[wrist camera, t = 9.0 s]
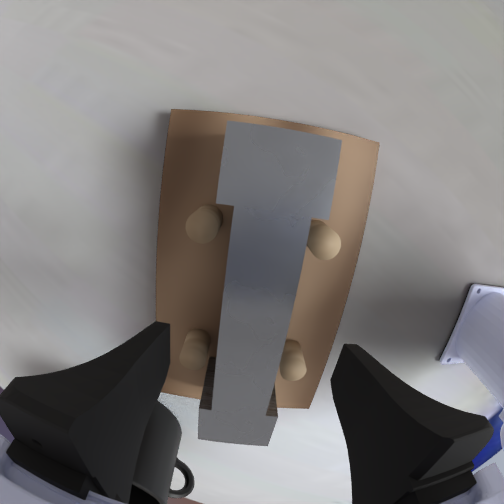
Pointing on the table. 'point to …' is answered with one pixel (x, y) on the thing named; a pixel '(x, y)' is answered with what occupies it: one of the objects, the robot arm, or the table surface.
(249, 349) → the gray notched long block
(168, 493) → the mug
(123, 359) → the robot arm
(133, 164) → the table surface
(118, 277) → the table surface
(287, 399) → the peg rack
